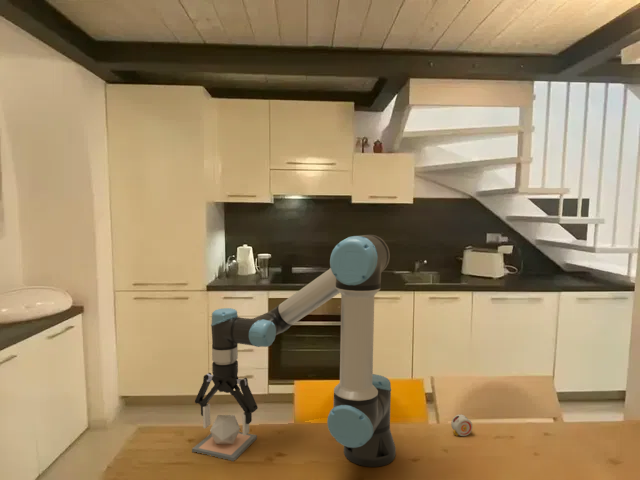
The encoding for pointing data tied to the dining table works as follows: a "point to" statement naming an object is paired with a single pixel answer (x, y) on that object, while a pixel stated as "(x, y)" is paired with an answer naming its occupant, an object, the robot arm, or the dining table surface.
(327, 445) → the dining table surface
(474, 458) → the dining table surface
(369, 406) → the robot arm
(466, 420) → the roller toy
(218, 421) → the die
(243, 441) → the base plate
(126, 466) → the dining table surface
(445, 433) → the dining table surface
